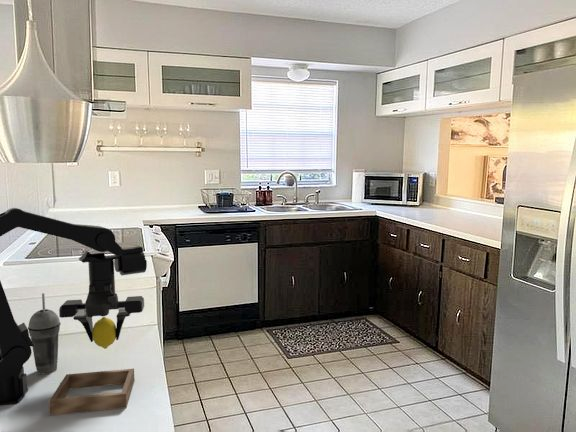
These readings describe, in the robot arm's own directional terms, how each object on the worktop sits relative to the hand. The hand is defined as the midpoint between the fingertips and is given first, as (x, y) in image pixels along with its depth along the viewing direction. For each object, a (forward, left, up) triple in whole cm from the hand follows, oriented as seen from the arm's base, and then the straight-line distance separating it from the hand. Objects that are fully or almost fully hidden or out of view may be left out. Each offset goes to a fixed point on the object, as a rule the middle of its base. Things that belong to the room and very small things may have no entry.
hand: (104, 340), depth 114 cm
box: (0, -12, -8) cm, 15 cm away
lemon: (0, 0, -2) cm, 2 cm away
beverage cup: (-15, +5, -8) cm, 18 cm away
